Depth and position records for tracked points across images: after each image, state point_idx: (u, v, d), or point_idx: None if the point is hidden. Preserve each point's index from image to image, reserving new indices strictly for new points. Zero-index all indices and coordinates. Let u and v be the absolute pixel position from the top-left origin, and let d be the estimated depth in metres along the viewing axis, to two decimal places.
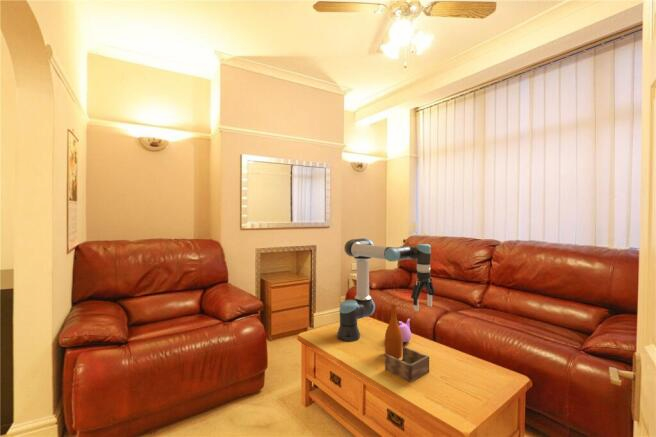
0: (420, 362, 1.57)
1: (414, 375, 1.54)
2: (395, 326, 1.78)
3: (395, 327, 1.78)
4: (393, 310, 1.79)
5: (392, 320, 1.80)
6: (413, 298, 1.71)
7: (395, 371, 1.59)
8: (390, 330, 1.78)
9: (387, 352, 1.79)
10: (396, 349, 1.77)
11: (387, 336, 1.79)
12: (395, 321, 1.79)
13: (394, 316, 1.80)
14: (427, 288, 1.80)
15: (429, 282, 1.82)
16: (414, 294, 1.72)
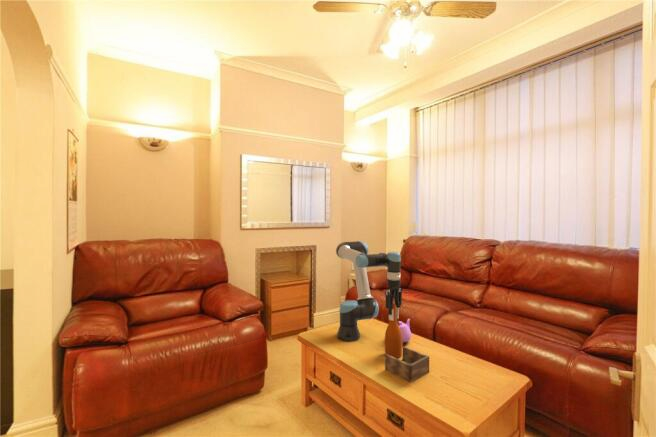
0: (420, 362, 1.57)
1: (414, 375, 1.54)
2: (395, 326, 1.78)
3: (395, 327, 1.78)
4: (393, 310, 1.79)
5: None
6: (388, 308, 1.77)
7: (395, 371, 1.59)
8: (390, 330, 1.78)
9: (387, 352, 1.79)
10: (396, 349, 1.77)
11: (387, 336, 1.79)
12: (395, 321, 1.79)
13: (394, 316, 1.80)
14: (395, 297, 1.82)
15: (399, 292, 1.84)
16: (388, 304, 1.77)
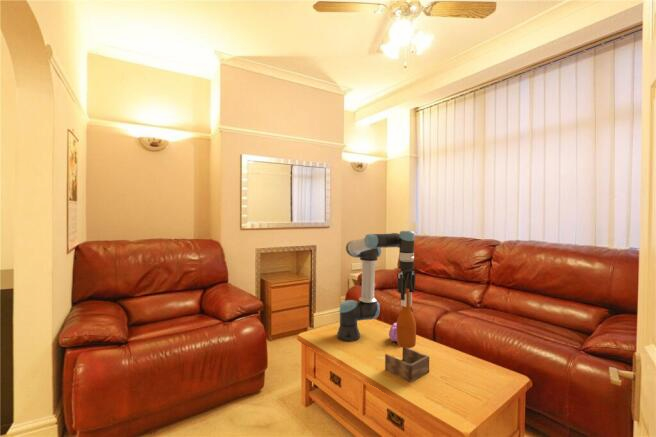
0: (420, 362, 1.57)
1: (414, 375, 1.54)
2: (408, 313, 1.60)
3: (408, 314, 1.60)
4: None
5: None
6: (400, 292, 1.59)
7: (395, 371, 1.59)
8: (402, 317, 1.60)
9: (399, 341, 1.61)
10: (410, 338, 1.59)
11: (399, 324, 1.61)
12: (408, 307, 1.61)
13: (407, 302, 1.62)
14: (408, 281, 1.64)
15: (412, 275, 1.66)
16: (400, 288, 1.59)
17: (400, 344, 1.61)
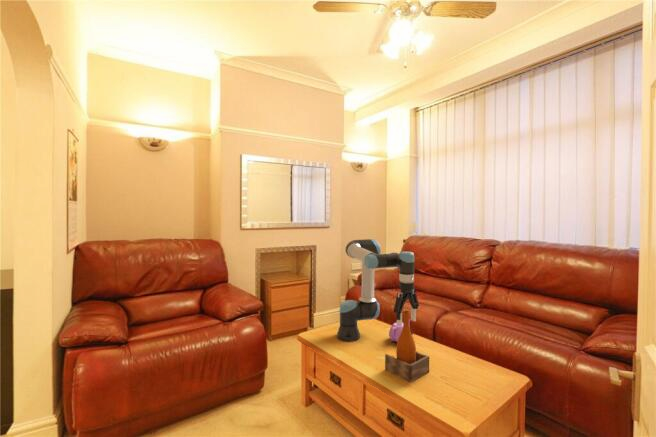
0: (420, 362, 1.57)
1: (414, 375, 1.54)
2: (408, 336, 1.61)
3: (408, 337, 1.60)
4: (406, 318, 1.62)
5: (404, 329, 1.62)
6: (396, 312, 1.57)
7: (395, 371, 1.59)
8: (402, 340, 1.60)
9: None
10: (409, 362, 1.59)
11: (399, 347, 1.61)
12: (408, 330, 1.62)
13: (407, 325, 1.62)
14: (410, 300, 1.65)
15: (413, 294, 1.67)
16: (396, 308, 1.57)
17: None
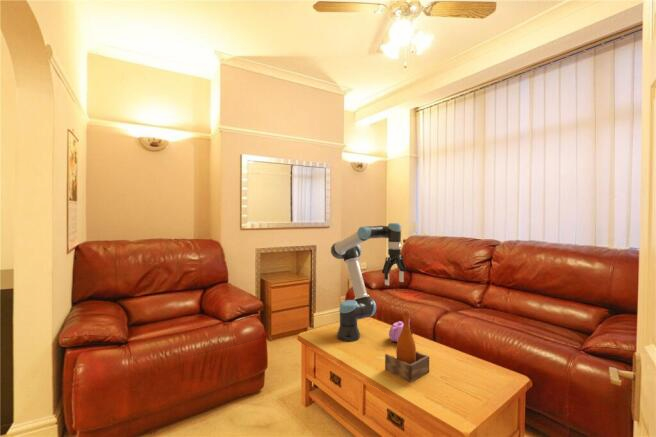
0: (420, 362, 1.57)
1: (414, 375, 1.54)
2: (408, 336, 1.61)
3: (408, 337, 1.61)
4: (406, 318, 1.62)
5: (404, 329, 1.62)
6: (384, 273, 1.83)
7: (395, 371, 1.59)
8: (402, 340, 1.61)
9: None
10: (409, 362, 1.59)
11: (399, 347, 1.61)
12: (408, 330, 1.62)
13: (407, 325, 1.62)
14: (398, 264, 1.92)
15: (400, 259, 1.94)
16: (385, 269, 1.84)
17: None
